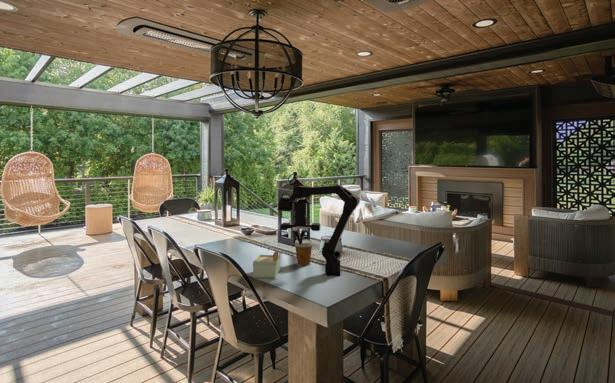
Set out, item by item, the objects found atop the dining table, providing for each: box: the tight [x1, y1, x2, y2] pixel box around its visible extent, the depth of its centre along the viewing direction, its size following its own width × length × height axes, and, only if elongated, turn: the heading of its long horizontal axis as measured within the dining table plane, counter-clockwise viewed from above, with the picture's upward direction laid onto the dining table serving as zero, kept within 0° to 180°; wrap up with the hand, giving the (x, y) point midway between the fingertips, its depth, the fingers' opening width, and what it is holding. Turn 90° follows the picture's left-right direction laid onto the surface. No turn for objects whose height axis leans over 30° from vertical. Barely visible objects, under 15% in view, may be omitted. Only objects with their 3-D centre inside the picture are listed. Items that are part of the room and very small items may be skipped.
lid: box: [258, 250, 279, 264], centre depth 175 cm, size 9×10×4 cm
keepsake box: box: [252, 254, 281, 280], centre depth 176 cm, size 10×12×8 cm
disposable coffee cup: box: [294, 238, 314, 267], centre depth 191 cm, size 10×10×12 cm
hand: (300, 244), depth 180 cm, fingers closed
